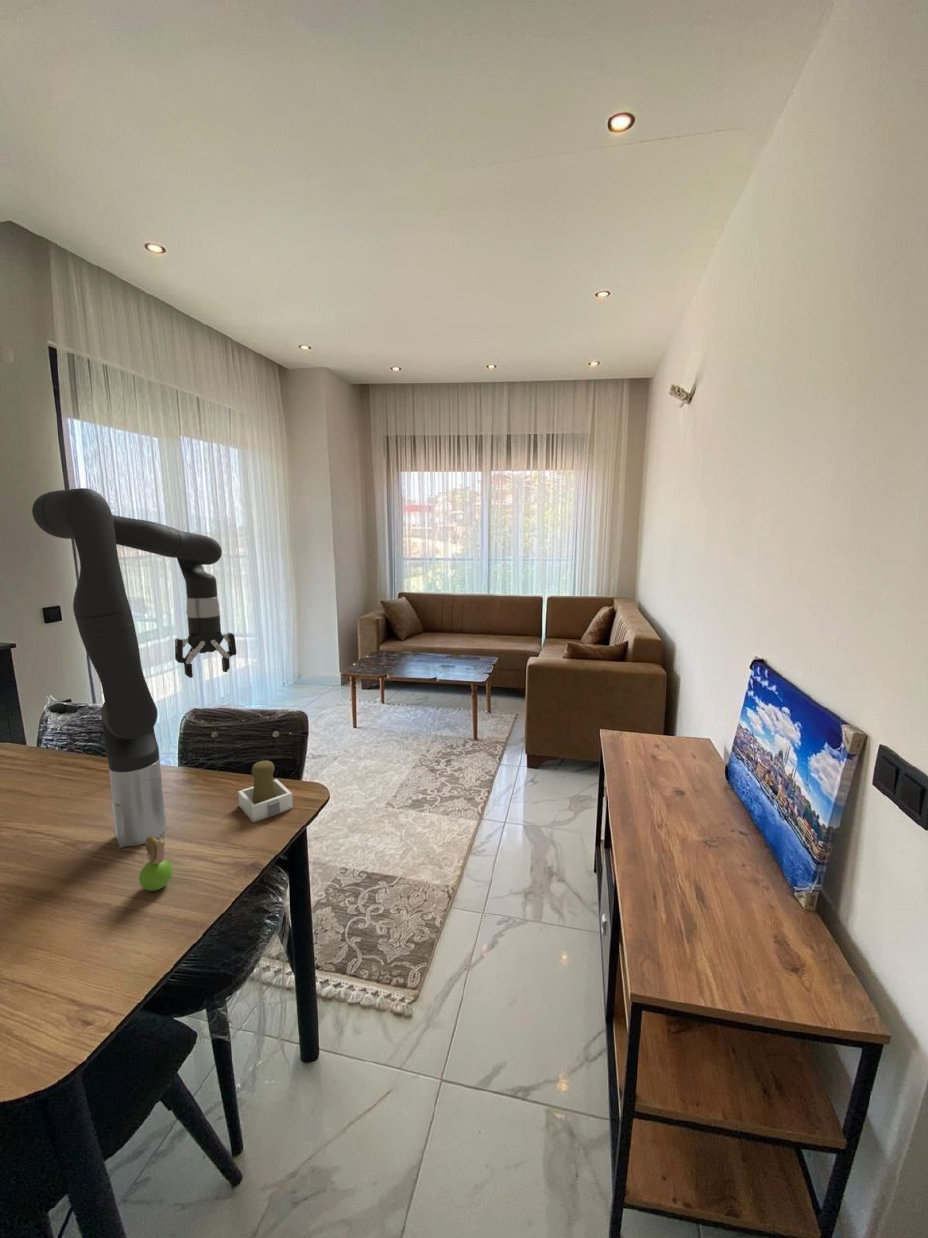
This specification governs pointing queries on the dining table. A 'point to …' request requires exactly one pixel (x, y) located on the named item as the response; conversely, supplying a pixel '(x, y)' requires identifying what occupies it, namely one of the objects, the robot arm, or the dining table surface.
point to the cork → (263, 781)
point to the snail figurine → (155, 865)
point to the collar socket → (265, 803)
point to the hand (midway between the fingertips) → (208, 674)
